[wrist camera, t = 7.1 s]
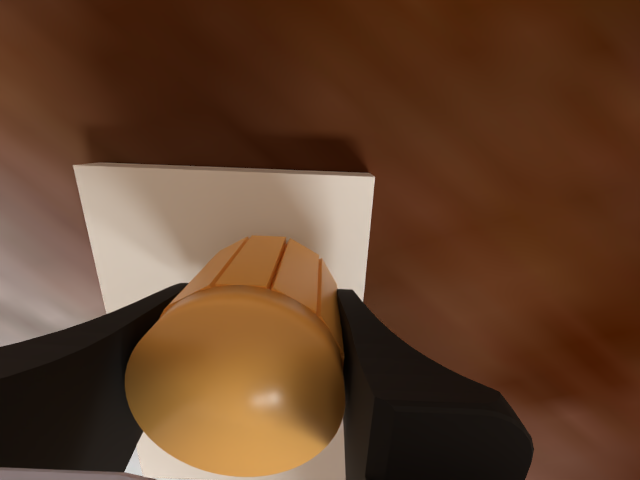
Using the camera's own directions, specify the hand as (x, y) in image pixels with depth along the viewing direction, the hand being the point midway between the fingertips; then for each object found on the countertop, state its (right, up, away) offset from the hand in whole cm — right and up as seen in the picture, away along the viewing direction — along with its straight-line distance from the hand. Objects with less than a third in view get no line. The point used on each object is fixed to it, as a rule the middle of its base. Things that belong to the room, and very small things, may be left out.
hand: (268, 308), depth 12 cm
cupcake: (0, 0, +1) cm, 1 cm away
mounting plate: (-2, -3, +4) cm, 6 cm away
